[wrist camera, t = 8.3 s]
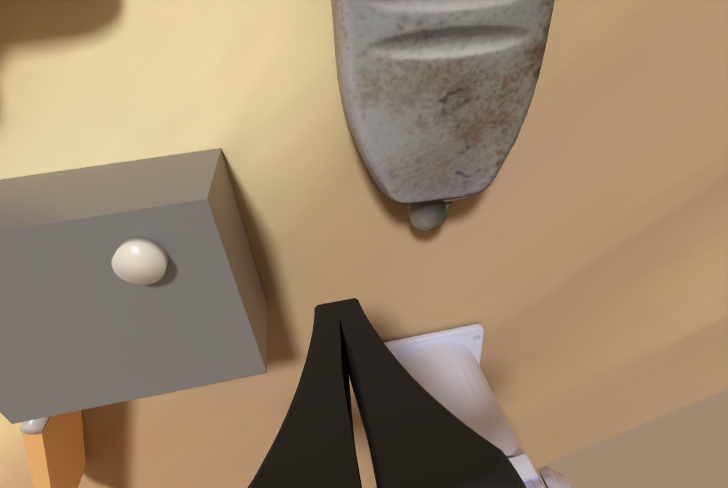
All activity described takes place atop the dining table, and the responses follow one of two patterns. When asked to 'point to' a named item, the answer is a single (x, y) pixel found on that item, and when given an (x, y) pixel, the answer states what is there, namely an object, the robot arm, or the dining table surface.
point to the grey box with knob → (124, 285)
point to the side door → (55, 450)
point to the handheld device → (437, 92)
